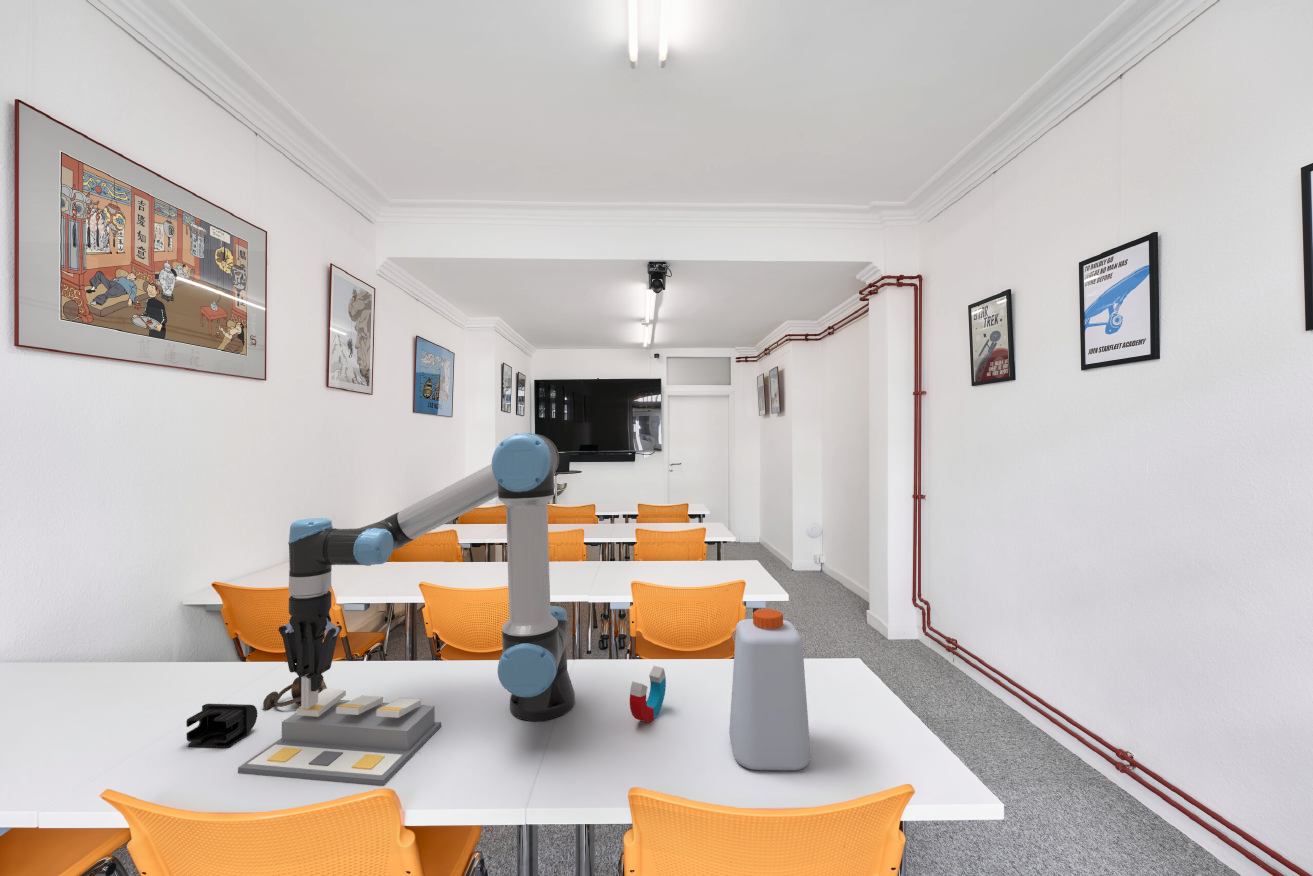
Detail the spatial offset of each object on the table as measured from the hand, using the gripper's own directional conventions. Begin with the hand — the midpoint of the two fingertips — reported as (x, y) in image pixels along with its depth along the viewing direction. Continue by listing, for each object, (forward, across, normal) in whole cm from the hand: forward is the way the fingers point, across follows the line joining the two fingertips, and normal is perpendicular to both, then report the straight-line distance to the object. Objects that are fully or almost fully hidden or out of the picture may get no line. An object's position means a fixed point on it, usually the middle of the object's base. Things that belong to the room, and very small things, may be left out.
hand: (309, 705), depth 111 cm
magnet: (+7, -69, -18) cm, 72 cm away
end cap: (+8, +20, +1) cm, 21 cm away
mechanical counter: (+8, +16, -15) cm, 24 cm away
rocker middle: (+1, -9, -3) cm, 10 cm away
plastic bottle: (+7, -95, -9) cm, 96 cm away
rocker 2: (+1, -18, -3) cm, 18 cm away
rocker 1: (+1, 0, -3) cm, 3 cm away
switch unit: (+8, -9, +1) cm, 12 cm away
